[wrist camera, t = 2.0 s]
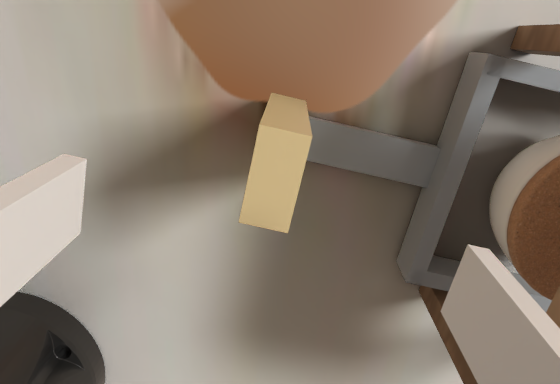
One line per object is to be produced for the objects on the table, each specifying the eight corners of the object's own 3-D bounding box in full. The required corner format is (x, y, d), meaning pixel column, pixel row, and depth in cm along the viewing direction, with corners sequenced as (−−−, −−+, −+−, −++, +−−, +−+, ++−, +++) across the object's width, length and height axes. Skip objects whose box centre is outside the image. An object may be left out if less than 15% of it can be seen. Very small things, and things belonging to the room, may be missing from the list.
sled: (601, 306, 37) (738, 426, 26) (242, 227, 36) (218, 318, 24) (708, 109, 32) (939, 151, 20) (289, 8, 30) (287, -8, 19)
